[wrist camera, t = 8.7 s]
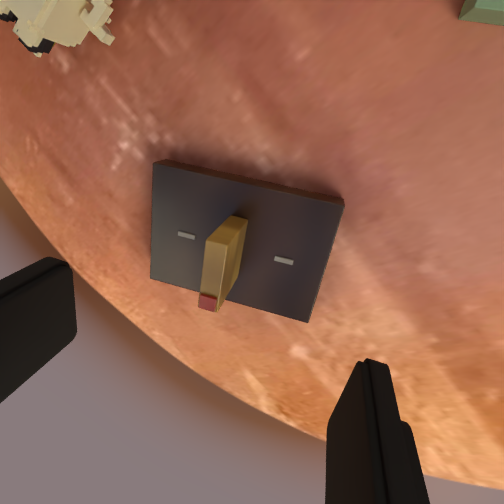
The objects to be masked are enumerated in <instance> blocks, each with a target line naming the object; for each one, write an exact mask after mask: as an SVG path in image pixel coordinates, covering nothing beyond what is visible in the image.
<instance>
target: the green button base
mask: <svg viewBox="0 0 504 504" xmlns="http://www.w3.org/2000/svg"><path fill="white" fill-rule="evenodd" d="M458 19H459V20H465V21H473V22H480V23H487V24H494V25H502V26H504V0H465V2H464V4H463V7H462V10H461V12H460V15H459V18H458Z"/></svg>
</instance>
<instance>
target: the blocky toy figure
mask: <svg viewBox="0 0 504 504" xmlns="http://www.w3.org/2000/svg"><path fill="white" fill-rule="evenodd" d="M112 2H113V1H112V0H0V19H1V20H4V21H6V22H8V21H12V22H14V21H16V22H15V27H14V29H13V31H14V32H15V34H17V35H18V36H19V39H18V40H19V41H20V42H21V43H22V44H23V45H24V46H25V47H26V48H27V49H28V50H29V51H30V52H33V53H34V54H35V55H36V56H37V57H41V55H42V54H43V52H45V53H48V54H49V52H50V50H51V49H52V47H53V46H54V45H55V43H59V44H61V45H64V46H67V47H69V46H72V47H75V46H76V44H79V45H80V44H81V43H82V41H83V40H84V38H85V36H86V35H87V33H88V32H89V30H90V31H91V32H92V33H93V34H94V35H96V36H97V38H98V39H99V40H100V41H101V42H103V43H105V44H107V45H111V43H112V42H113V40H114V39H115V37H114V36H113V35H112V34H111V31H110V30H109V28H108V27H107V26H106V25H105V22H106V23H108V24H110V22H111V21H112V20H111V19H110V18H109V16H110V15H111V13H112V12H113V9H112V8H111V6H110V5H111V3H112Z"/></svg>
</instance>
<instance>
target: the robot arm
mask: <svg viewBox="0 0 504 504" xmlns="http://www.w3.org/2000/svg"><path fill="white" fill-rule="evenodd" d="M76 333H77V324H76V310H75V298H74V285H73V272H72V269H71V268H70V266H69V264H68V263H67V262H65V261H62V260H59V259H56V258H53V257H46V258H43V259H41V260H39V261H37V262H35V263H33V264H31V265H29V266H27V267H25V268H23V269H21V270H19V271H17V272H15V273H13V274H11V275H9V276H7V277H5V278H3V279H1V280H0V403H1V402H2V401H4V400H5V399H6V398H7V397H8V396H9V395H10V394H12V393H13V392H14V391H15V390H16V389H17V388H18V387H19V386H21V385H22V384H23V383H24V382H25V381H27V380H28V379H29V378H30V377H31V376H32V375H33V374H35V373H36V372H37V371H38V370H39V369H40V368H41V367H43V366H44V365H45V364H46V363H47V362H48V361H50V359H52V358H53V357H54V356H55V355H56V354H58V353H59V352H60V351H61V350H62V349H63V348H64V347H66V346H67V345H68V344H69V343H70V342H71V341H72V340H73V339H74V337H75V336H76ZM325 494H326V496H325V504H430V502H429V497H428V493H427V489H426V485H425V482H424V477H423V473H422V469H421V465H420V461H419V457H418V453H417V449H416V445H415V441H414V437H413V433H412V430H411V427H410V426H409V424H408V423H407V422H404V421H401V420H400V415H399V411H398V406H397V402H396V397H395V393H394V388H393V383H392V379H391V374H390V370H389V367H388V365H387V364H384V363H381V362H378V361H374V360H371V359H368V358H366V359H365V360H364V362H361V361H358V362H357V363H356V365H355V367H354V369H353V371H352V374H351V376H350V378H349V380H348V382H347V384H346V386H345V388H344V390H343V392H342V394H341V396H340V398H339V400H338V402H337V405H336V407H335V409H334V411H333V413H332V415H331V417H330V419H329V422H328V426H327V445H326V492H325Z"/></svg>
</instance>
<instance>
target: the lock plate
mask: <svg viewBox="0 0 504 504" xmlns="http://www.w3.org/2000/svg"><path fill="white" fill-rule="evenodd" d="M344 208H345V204H344V199H342V198H338V197H333V196H329V195H324V194H320V193H316V192H311V191H307V190H302V189H298V188H293V187H289V186H284V185H280V184H275V183H271V182H266V181H262V180H257V179H253V178H248V177H244V176H240V175H235V174H231V173H226V172H222V171H217V170H213V169H208V168H204V167H199V166H195V165H190V164H186V163H181V162H177V161H172V160H168V159H164V160H161V161H157V162H153V182H152V223H151V265H150V278H151V279H154V280H158V281H161V282H165V283H168V284H172V285H175V286H179V287H182V288H186V289H189V290H193V291H197V292H200V285H201V277H202V268H203V260H204V252H205V243H206V239H207V238H208V237H209V236H210V235H211V234H212V233H213V232H214V231H215V230H216V229H217V228H218V227H219V226H220V225H221V224H222V223H223V222H224V221H225V220H226V219H227V218H228V217H229V216H230V215H232V216H236V217H240V218H243V219H247V220H248V224H247V229H246V235H245V240H244V246H243V251H242V257H241V262H240V268H239V273H238V278H237V279H236V281H235V283H234V284H233V286H232V288H231V290H230V291H229V293H228V295H227V297H226V298H225V300H228V301H232V302H235V303H239V304H242V305H246V306H249V307H253V308H256V309H260V310H263V311H267V312H271V313H274V314H278V315H281V316H285V317H288V318H292V319H295V320H299V321H302V322H306V323H308V322H309V319H310V316H311V313H312V310H313V307H314V303H315V300H316V297H317V294H318V291H319V287H320V284H321V281H322V278H323V275H324V271H325V268H326V265H327V262H328V259H329V256H330V252H331V249H332V246H333V243H334V240H335V236H336V233H337V230H338V227H339V224H340V221H341V217H342V214H343V211H344Z"/></svg>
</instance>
